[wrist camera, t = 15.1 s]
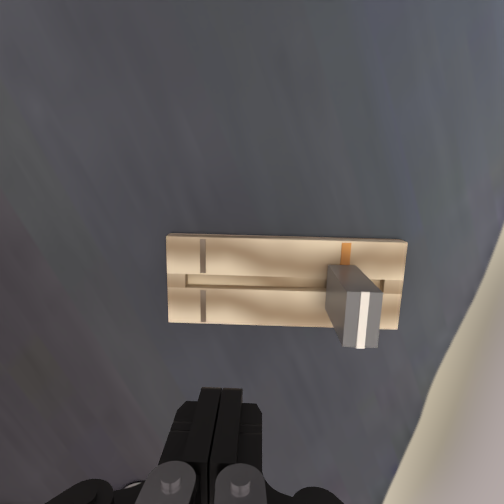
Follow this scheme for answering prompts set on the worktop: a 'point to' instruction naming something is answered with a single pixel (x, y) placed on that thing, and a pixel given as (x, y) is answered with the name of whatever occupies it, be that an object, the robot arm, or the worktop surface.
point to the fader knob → (353, 306)
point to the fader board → (273, 277)
